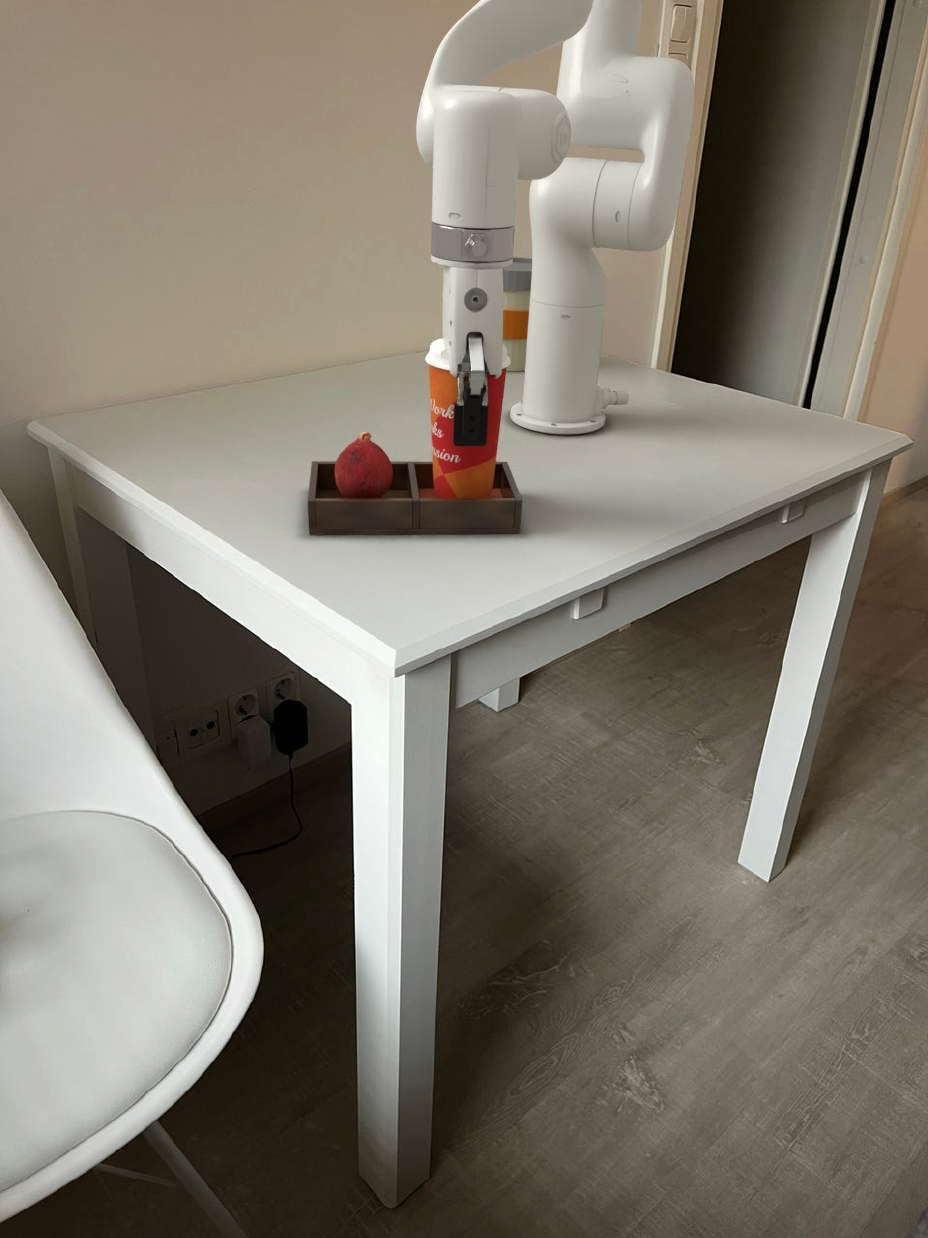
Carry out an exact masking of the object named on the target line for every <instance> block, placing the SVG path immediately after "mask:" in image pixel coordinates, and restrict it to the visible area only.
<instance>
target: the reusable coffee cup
mask: <svg viewBox="0 0 928 1238" xmlns="http://www.w3.org/2000/svg"><path fill="white" fill-rule="evenodd" d="M502 271H503V339H502V343H503V344H504V345H505V346H506V349H507V356H508V357H509V358H510V361H511V363H510V365H509V366H508V367H507V369H506V372H525V362H526V348H527V334H528V320H529V306H530V293H531V277H532V257H531V258H530V257H517V256H513V264H512V265H511V266H508V267H503V268H502Z"/></svg>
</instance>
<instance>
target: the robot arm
mask: <svg viewBox="0 0 928 1238" xmlns="http://www.w3.org/2000/svg"><path fill="white" fill-rule="evenodd" d="M642 6H643V5H642V2H641V0H479V1H478V2H477V3H476V4H475V5H474V6H472V7H471V8H470V9H469V10H468V11H467V12H466V13H465V14H464V15H463V16H462V17H461V18H460V19H459V20H457V22H456V23H454V25H452V27H451V28H450V29H449V30H448V31H447V33H446V35H444V36H443V38H442V40H441V42H440V44H439V45H438V47H437V48H436V52H435V54H434V57H433V59H432V61H431V64H430V68H429V71H428V74H427V77H426V80H425V83H424V87H423V91H422V94H421V97H420V101H419V105H418V111H417V116H416V124H415V137H416V144H417V148H418V152H419V154H420V156H421V158H422V160H423V161H424V162H425V163H426V164H427V165H428V166H429V167H430V168H431V169H432V188H431V189H432V195H431V197H432V199H431V205H432V206H431V237H430V238H431V239H430V261H431V262H432V263H434V264H436V265H440V266H442V267H443V268H442V269H443V271H442V272H443V273H442V312H441V313H442V314H441V315H442V316H441V317H442V338H443V342H444V346H445V348H446V350H447V352H448V361H449V367H450V374H451V375H452V376H454V377H455V378H457V403H454V424H453V443H454V445H455V446H485V445H486V443H487V428H488V409H489V405H488V391H487V367H488V370H489V374H490V375H495V376H493V377H494V378H498V377H499V376H500V375H501V374H502V339H503V271H502V268H503V267H508V266H511V265H512V264H513V257H514V247H515V232H516V231H515V230H516V213H517V196H518V181H519V180H520V181H531V182H530V185H529V194H528V195H529V196H528V210H529V219H530V221H529V222H530V231H531V235H530V236H531V259H532V277H531V293H530V306H529V320H528V334H527V348H526V362H525V371H524V378H523V390H522V391H523V393H522V400H521V401H518V402H517V403H514V404H513V405H512V406H511V407H510V412H509V418H510V420H511V421H512V422H513V423H514V424H516V425H518V426H519V427H522V428H523V429H527V430H530V431H534V432H539V433H543V434H549V435H550V434H551V435H552V434H553V435H581V434H588V433H592V432H595V431H597V430H600V429H601V428H603V426H605V423H606V412H604V411H603V409H606V408H608V406H625V405H627V404H628V403H629V401H630V394H629V391H628V390H626V389H618V390H617V389H616V390H612V389H611V388H610V387H609V386H608V387H607V386H606V387H601V386H599V385H598V380H599V370H600V362H601V352H602V345H603V344H602V342H603V334H604V325H605V324H604V323H605V315H606V305H607V298H608V297H607V296H608V283H607V277H606V274H605V272H604V269H603V267H602V265H601V263H600V261H599V260H598V257H597V256H596V254H595V252H594V251H593V249H592V248H595V249H599V248H600V249H601V248H603V249H612V250H620V251H631V252H646V253H647V252H653V251H654V252H655V251H658V250H660V249H662V248H663V247H664V246H665V245H666V244H667V243H668V241H669V240H670V237H671V236H672V232H673V230H674V226H675V222H676V218H677V213H678V207H679V203H680V195H681V189H682V183H683V178H684V173H685V167H686V166H685V165H686V160H687V155H688V149H689V144H690V137H691V133H692V126H693V120H694V119H693V118H694V110H695V100H696V99H695V93H696V92H695V91H696V90H695V89H696V88H695V81H694V76H693V73H692V71H691V69H690V68H689V66H688V65H687V64H686V63H685V62H683V61H682V60H679V59H676V58H672V57H665V56H644V55H643V56H642V55H639V56H638V46H639V40H640V39H639V38H640V34H641V33H640V32H641V27H642V26H641V25H642V21H643V20H642V19H643V7H642ZM561 44H562V51H561V57H560V65H559V72H558V78H557V79H558V80H557V86H556V95H555V94H553V93H550V92H548V91H545V90H540V89H533V88H516V87H504V86H488V85H487V86H486V85H480V84H481V83H482V82H483V81H485V80H486V79H487V78H488V77H490V76H491V75H492V74H493V73H494V74H495V72H497V71H499V70H501V69H502V68H504V67H507V66H508V65H510V64H514V63H515V62H518V61H521V60H523V59H526V58H530V57H531V56H534V55H537V54H539V53H542V52H545V51H548V50H549V49H551V48H554V47H556V46H558V45H561ZM570 145H575V146H580V147H588V148H595V149H597V148H598V149H611V150H624V151H626V150H627V151H639V152H640V153H642V154H643V155H644V160H643V162H637V161H635V162H634V161H621V160H611V159H606V158H605V159H603V158H589V157H575V156H573V157H571V156H570V157H566V156H567V155H568V153H569V149H570ZM466 340H467V349H468V351H466ZM466 355H468V360H469V371H462V364H461V363H462V361H463V359H464V357H465V356H466ZM464 381H469V382H466V384H465V385H464Z"/></svg>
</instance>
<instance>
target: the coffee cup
mask: <svg viewBox="0 0 928 1238" xmlns="http://www.w3.org/2000/svg"><path fill="white" fill-rule="evenodd" d="M466 351H468V349H467V340H466ZM424 358H425V362H426V363H427V364H428V376H429V377H428V380H429V402H430V403H429V404H430V406H429V407H430V430H431V457H432V459H431V460H432V462H433V479H434V491H435V493H436V495H437V496H439V497H440V498H488V497H489V496H490V495H491V492H492V487H493V480H494V472H495V464H496V462H497V455H498V447H499V439H500V429H501V421H502V411H503V403H504V394H505V385H506V376H507V371H506V369H507V367H508V366H509V365H510V363H511V361H510V358H509V357H508V356H507V349H506V346H505V345H504V344H503V343H502V374H501V375H500V376H499V377H498V378H494V377H493V376H495V375H490V374H489V370H488V367H487V391H488V405H489V409H488V428H487V443H486V445H485V446H455V445H454V443H453V424H454V403H457V378H455V377H454V376H452V375H451V374H450V367H449V361H448V352H447V350H446V348H445V346H444V342H443V337H442V338H438V339H435V340H433V341H432V342H431V344H430V345H429V351H428V353H427V354H426V356H425V357H424ZM461 364H462V371H469V360H468V355H466V356H465V357H464V359H463V361H462V363H461ZM466 382H469V381H464V385H465V384H466Z"/></svg>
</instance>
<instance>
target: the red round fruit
mask: <svg viewBox="0 0 928 1238" xmlns="http://www.w3.org/2000/svg"><path fill="white" fill-rule="evenodd" d="M371 438H372V434H371V433H370V432H369V431H367V430H366V431H361V432H360V433H359V434H358V436H357V437H356V439H355V440H354V441H353V442H351V443H349V444H348V445H347V446H346V447H345V448H344V449H343V451H341V452H340V453H339V456H338V457H337V459H336V460H335V461H336V464H335V479H336V485H337V487H338V488H339V490H340V492H341V493H342V494H343V495H344V496H345V497H346V498H381V497H382V496H383V495H384V494H385V493H386V492H387V490H388V488H389V486H390V484H391V483H392V478H393V468H392V465H391V462H390V461H391V460H390V458H389V456H388V455H387V453H386V452H385V451H384V449H383V448H382V447H381V446H379V445H378V444H377V443H375V442H374V441H372V440H371Z"/></svg>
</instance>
